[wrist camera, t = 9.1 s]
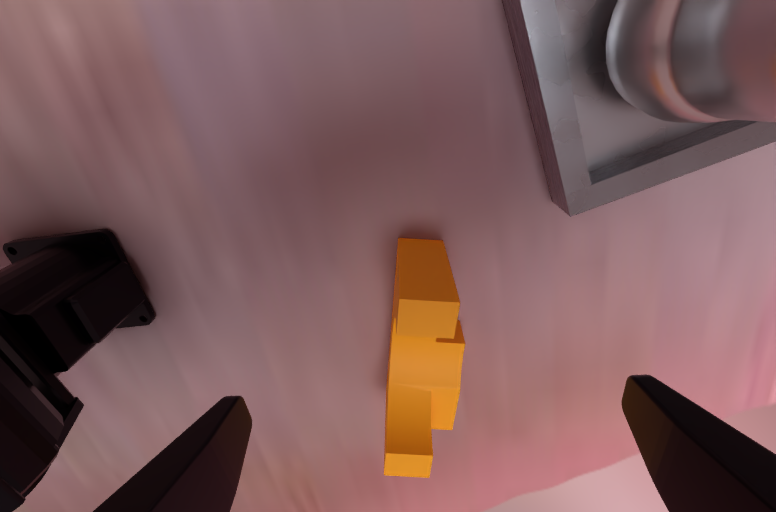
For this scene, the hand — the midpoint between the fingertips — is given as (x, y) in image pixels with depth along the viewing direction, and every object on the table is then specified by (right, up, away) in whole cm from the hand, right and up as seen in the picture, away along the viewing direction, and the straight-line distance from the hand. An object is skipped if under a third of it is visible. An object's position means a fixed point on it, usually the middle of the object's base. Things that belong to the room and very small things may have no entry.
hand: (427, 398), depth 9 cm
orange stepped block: (+2, -1, +16) cm, 16 cm away
